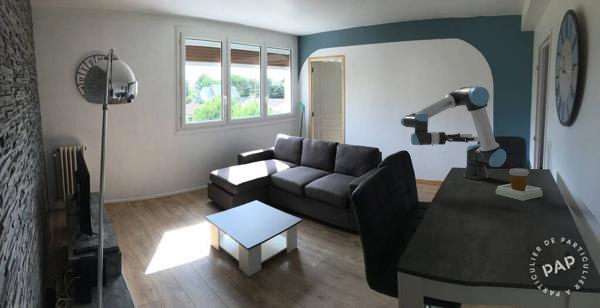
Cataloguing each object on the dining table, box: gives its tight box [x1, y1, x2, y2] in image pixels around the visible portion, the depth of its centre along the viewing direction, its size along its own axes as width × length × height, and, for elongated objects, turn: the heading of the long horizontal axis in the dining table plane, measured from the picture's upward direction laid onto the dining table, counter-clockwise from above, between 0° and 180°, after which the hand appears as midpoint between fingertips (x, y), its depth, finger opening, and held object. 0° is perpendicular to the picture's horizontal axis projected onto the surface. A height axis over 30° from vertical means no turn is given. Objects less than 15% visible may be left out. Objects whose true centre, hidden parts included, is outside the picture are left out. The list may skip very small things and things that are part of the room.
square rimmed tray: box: [495, 183, 544, 202], centre depth 196 cm, size 16×16×4 cm
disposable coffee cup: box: [508, 167, 530, 192], centre depth 192 cm, size 10×10×12 cm
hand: (475, 137), depth 206 cm, fingers open, 13 cm apart
